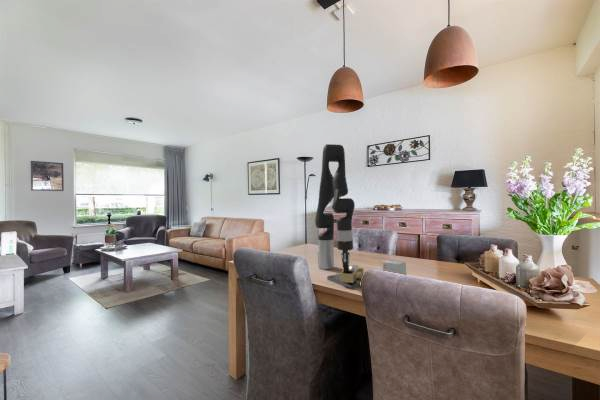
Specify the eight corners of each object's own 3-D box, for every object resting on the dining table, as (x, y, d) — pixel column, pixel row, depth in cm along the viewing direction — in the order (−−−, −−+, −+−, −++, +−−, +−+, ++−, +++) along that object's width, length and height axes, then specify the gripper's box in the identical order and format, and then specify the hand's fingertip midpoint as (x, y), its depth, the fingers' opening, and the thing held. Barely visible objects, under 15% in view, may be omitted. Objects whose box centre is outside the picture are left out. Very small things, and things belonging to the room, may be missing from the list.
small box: (407, 291, 115) (406, 261, 115) (399, 295, 111) (398, 264, 111) (390, 287, 121) (389, 259, 121) (382, 290, 117) (382, 261, 117)
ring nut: (346, 272, 141) (346, 264, 141) (365, 274, 137) (365, 265, 137) (336, 281, 125) (335, 272, 125) (357, 284, 120) (357, 274, 120)
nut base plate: (327, 279, 135) (327, 266, 135) (351, 273, 144) (351, 262, 144) (351, 288, 120) (350, 274, 120) (376, 282, 129) (376, 269, 129)
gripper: (338, 237, 134) (339, 271, 133) (335, 241, 121) (337, 279, 121) (353, 237, 132) (354, 272, 132) (352, 241, 119) (353, 279, 119)
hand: (346, 275), depth 126 cm, fingers closed
